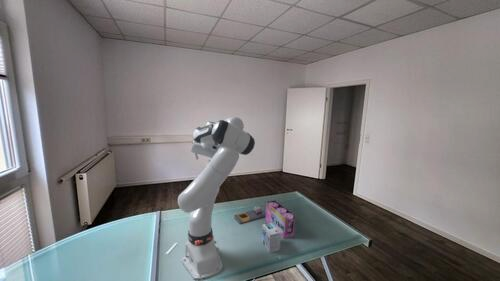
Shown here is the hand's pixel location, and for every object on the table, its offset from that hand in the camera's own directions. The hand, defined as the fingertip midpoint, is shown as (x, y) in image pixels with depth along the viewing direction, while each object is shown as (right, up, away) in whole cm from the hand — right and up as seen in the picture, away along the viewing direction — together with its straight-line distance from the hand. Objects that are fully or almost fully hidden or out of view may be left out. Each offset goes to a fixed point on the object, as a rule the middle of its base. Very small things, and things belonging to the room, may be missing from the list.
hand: (203, 160), depth 142 cm
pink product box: (+53, -43, -14) cm, 70 cm away
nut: (+40, -40, 0) cm, 56 cm away
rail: (+35, -41, -3) cm, 53 cm away
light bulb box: (+46, -45, -32) cm, 72 cm away
